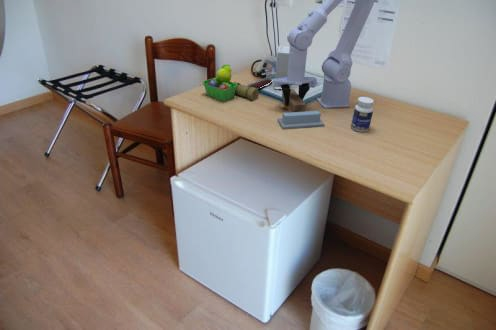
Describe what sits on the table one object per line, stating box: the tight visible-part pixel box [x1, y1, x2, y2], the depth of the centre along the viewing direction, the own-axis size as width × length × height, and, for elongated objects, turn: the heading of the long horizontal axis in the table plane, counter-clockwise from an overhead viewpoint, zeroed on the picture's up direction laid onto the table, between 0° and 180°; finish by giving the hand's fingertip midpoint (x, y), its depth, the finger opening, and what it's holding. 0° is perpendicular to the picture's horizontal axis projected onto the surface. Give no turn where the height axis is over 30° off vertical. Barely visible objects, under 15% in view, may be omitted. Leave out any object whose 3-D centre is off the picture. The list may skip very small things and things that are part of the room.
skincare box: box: [273, 45, 291, 88], centre depth 154 cm, size 8×6×15 cm
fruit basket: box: [202, 63, 238, 103], centre depth 145 cm, size 11×9×11 cm
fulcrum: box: [277, 110, 326, 130], centre depth 130 cm, size 14×6×4 cm, turn 102°
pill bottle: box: [350, 96, 374, 133], centre depth 127 cm, size 6×6×10 cm
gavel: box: [232, 78, 273, 102], centre depth 154 cm, size 21×5×10 cm
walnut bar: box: [281, 88, 307, 113], centre depth 140 cm, size 4×14×4 cm, turn 12°
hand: (292, 104), depth 141 cm, fingers closed on walnut bar, 4 cm apart
